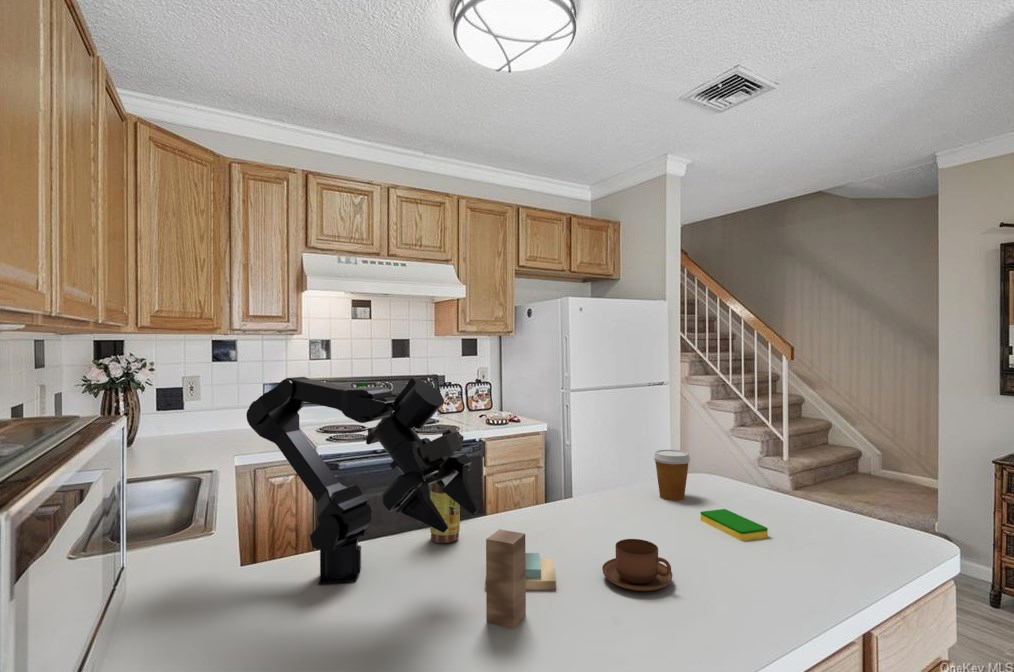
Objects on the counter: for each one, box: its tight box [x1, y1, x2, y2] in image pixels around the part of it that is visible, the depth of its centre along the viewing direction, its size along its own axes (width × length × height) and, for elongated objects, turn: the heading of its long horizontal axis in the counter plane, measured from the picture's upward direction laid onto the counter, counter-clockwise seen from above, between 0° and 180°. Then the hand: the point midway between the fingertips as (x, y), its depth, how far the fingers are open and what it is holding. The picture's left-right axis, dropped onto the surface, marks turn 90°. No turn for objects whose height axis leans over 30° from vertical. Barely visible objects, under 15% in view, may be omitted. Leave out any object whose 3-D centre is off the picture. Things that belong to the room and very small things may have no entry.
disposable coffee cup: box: [653, 448, 691, 502], centre depth 142 cm, size 10×10×12 cm
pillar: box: [485, 528, 527, 630], centre depth 81 cm, size 4×4×12 cm
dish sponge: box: [700, 508, 769, 542], centre depth 119 cm, size 7×14×2 cm, turn 17°
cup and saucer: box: [601, 538, 673, 592], centre depth 93 cm, size 12×12×6 cm
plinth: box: [484, 552, 557, 591], centre depth 94 cm, size 12×9×3 cm
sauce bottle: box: [429, 452, 461, 544], centre depth 113 cm, size 6×6×20 cm
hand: (461, 521), depth 84 cm, fingers open, 9 cm apart
